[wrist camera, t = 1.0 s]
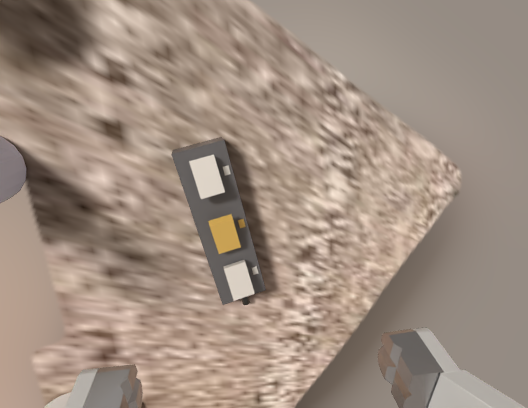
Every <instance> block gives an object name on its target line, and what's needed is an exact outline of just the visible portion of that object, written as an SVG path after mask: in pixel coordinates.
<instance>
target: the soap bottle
mask: <svg viewBox="0 0 528 408" xmlns="http://www.w3.org/2000/svg"><path fill="white" fill-rule="evenodd" d="M25 181H26V165H25V162H24V159H23V156H22V155H21V154H20V153H19V151H18V150H17V149H16V147H15V146H14V145H13V144H11V143H10V142H8V141H7V140H6V139H4V138H3V137H1V136H0V203H1V202H4V201H5V200H7V199H9V198H11V197H12V196H14V195H15V194H16V193H18V192H19V191H20V190H21V188H22V186H23V184H24V183H25Z"/></svg>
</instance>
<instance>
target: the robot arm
mask: <svg viewBox="0 0 528 408" xmlns="http://www.w3.org/2000/svg"><path fill="white" fill-rule="evenodd" d="M381 341H382V343H383V346H382V347H381V348H380V349H379V352H378V362H379V366H380V370H381V372H382V374H383V377H384V379H385V380H387V381H388V382H389V383H391V384H392V390H391V393H392V395H393V396H394V399H395V400H396V402H397V405H398V407H399V408H525V407H524V406H522V405H520V404H519V403H517V402H516V401H514V400H512V399H511V398H509V397H508V396H506V395H504V394H503V393H501V392H500V391H498V390H496V389H495V388H493V387H492V386H490V385H489V384H487V383H485V382H484V381H482V380H481V379H479V378H477V377H476V376H474V375H473V374H471V373H469V372H468V371H466V370H460V369H459V367H458V366H457V365H456V363H455V362H454V361H453V359H452V358H451V357H450V355H449V354H448V353H447V352H446V350H445V349H444V347H443V346H442V345H441V343H440V342H439V341H438V340H437V338H436V337H435V335H434V334H433V333H432V332H431V330H430V329H428V328H427V327H426V328H417V329H407V330H400V331H393V332H386V333H384V334H383V335H382V338H381ZM136 376H137V368H136V366H135V364H134V365H124V366H114V367H104V368H95V369H86V370H82V372H81V373H80V374H79V375H78V377H77V380H76V382H75V384H74V387H73V389H72V392H70V393H67V394H64V395H62V396H60V397H58V398H56V399H54V400H52V401H51V402H50V403H48V404H47V405H46V406H45V407H44V408H141V405H142V393H143V392H142V384H141V381H140V380H139V379H137V378H136Z"/></svg>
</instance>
